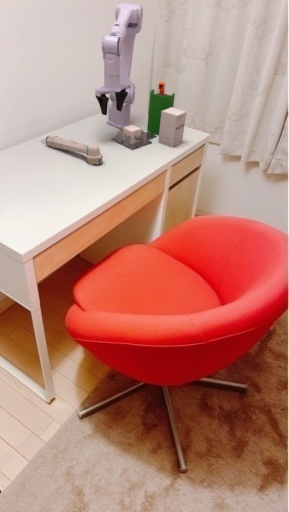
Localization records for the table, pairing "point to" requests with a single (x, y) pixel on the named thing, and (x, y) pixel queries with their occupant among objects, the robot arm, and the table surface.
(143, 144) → the grey peg tray
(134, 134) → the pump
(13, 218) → the table surface
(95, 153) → the beige long angled cylinder
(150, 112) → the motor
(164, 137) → the supplement box
